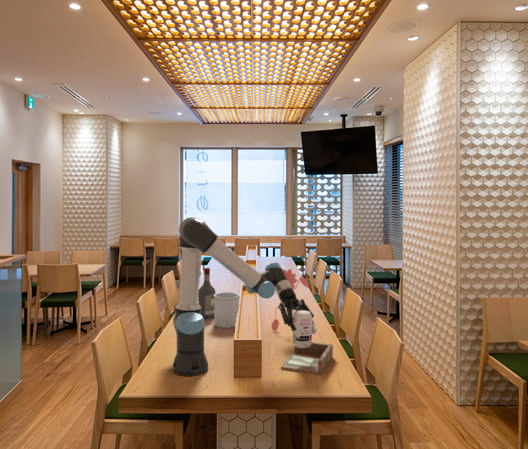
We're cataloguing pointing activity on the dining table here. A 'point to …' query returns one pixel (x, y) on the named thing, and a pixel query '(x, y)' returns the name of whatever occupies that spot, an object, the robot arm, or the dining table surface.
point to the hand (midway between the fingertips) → (307, 334)
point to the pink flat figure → (292, 280)
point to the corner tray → (310, 358)
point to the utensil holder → (226, 309)
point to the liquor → (206, 296)
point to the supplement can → (303, 328)
